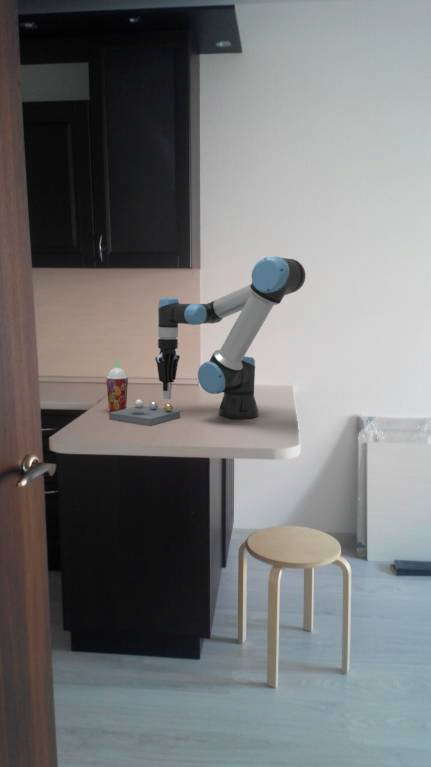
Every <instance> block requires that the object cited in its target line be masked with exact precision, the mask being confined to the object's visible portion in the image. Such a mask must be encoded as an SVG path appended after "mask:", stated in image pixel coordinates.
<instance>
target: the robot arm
mask: <svg viewBox="0 0 431 767" xmlns="http://www.w3.org/2000/svg"><path fill="white" fill-rule="evenodd" d="M250 274H251V283H250V284H248V285H246V286H244V287H241V288H239V289H237V290H235V291H232V292H230V293H227V294H226V295H224V296H221V297H219V298H216V299H215V300H213V301H210V302H207V303H180V302H179V299H178V297H161V298H159V301H158V308H157V310H158V315H157V316H158V325H157V327H158V334H157V335H158V340H157V349H159V350H160V351H159V355H158V357H157V356H156V357H154V358H155V359H154V360H155V362H156V367H157V375H158V380H159V382H161V383H162V392H163V393H162V394H163V395H162V396H163V398H162V399H164V400H171V399H172V388H173V387H172V385H173V383H174V382H175V380H176V378H177V371H178V370H177V369H178V364H179V360H180V358H181V356H180V355H179V354H178V355H177V351H176V350H177V349H178V344H179V343H178V337H179V324H183V325H192V326H194V325H195V326H197V325H203V324H211V325H212V324H216V323H217V324H219V323H220V322H221V321H222V320H223V319H224V318H227V317H229V316H231V315H233V314H236V313H239V312H240V311H241V312H240V313H239V315H238V316H237V319H236V321H235V322H234V324H233V326H232V327H231V329H230V332H229V333H228V335H227V337H226V339H225V340H224V342H223V344H222V346H221V347H220V349H217V350H215V351H214V352H213V353H212V355H211V357H210V359H209V361H205V362H204V363H202V364H201V365H200V366H199V368H198V371H197V379H198V384H199V385H200V387H201V388H202V389H203V390H204V392H206V393H208V394H211V395H212V394H213V395H215V394H217V395H218V394H221V393H222V394H223V397H222V399H221V403H220V406H219V408H218V416H220V417H222V418H226V419H237V420H238V419H240V420H243V419H244V420H245V419H253V418H257V417H259V409H258V405H257V401H256V397H255V378H256V377H255V376H256V374H255V373H256V365H255V364H256V362H255V361H256V360H255V358H254V357H252V356H245V355H247V352H248V350H249V348H250V347H251V345H252V343H253V342H254V340H255V338H256V336H257V335H258V333H259V331H260V329H261V327H263V324H264V323H265V321H266V320H267V318H268V316H269V314H270V313H271V311H272V309H273V308H274V306H276V305H280V304H281V303H282V300H283V298H284V297H285V296H287V295H290V294H293V293H295V292H298V291H299V290H300V289H302V287H303V285H304V284H305V282H306V270H305V268H304V266H303V264H302V263H300V262H299V261H298V260H296V259H294V258H285V257H280V256H266V257H263V258H261V259H260V260H258V261H257V262H256V263H255V264H254V266H253V269H252V271H251V273H250Z"/></svg>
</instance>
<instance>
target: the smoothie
mask: <svg viewBox="0 0 431 767" xmlns="http://www.w3.org/2000/svg"><path fill="white" fill-rule="evenodd" d="M115 365H116V366H115V367H113V368H112V369H111V370H109V372H108V373H107V376H105V378H106V391H107V404H108V409H109V413H110V412H114V411H119V410H123V409H127V403H128V402H127V401H128V383H129V376H128V374H127V373H126V371H125V370H124V369H123V368H121V367H119V360H115Z"/></svg>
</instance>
